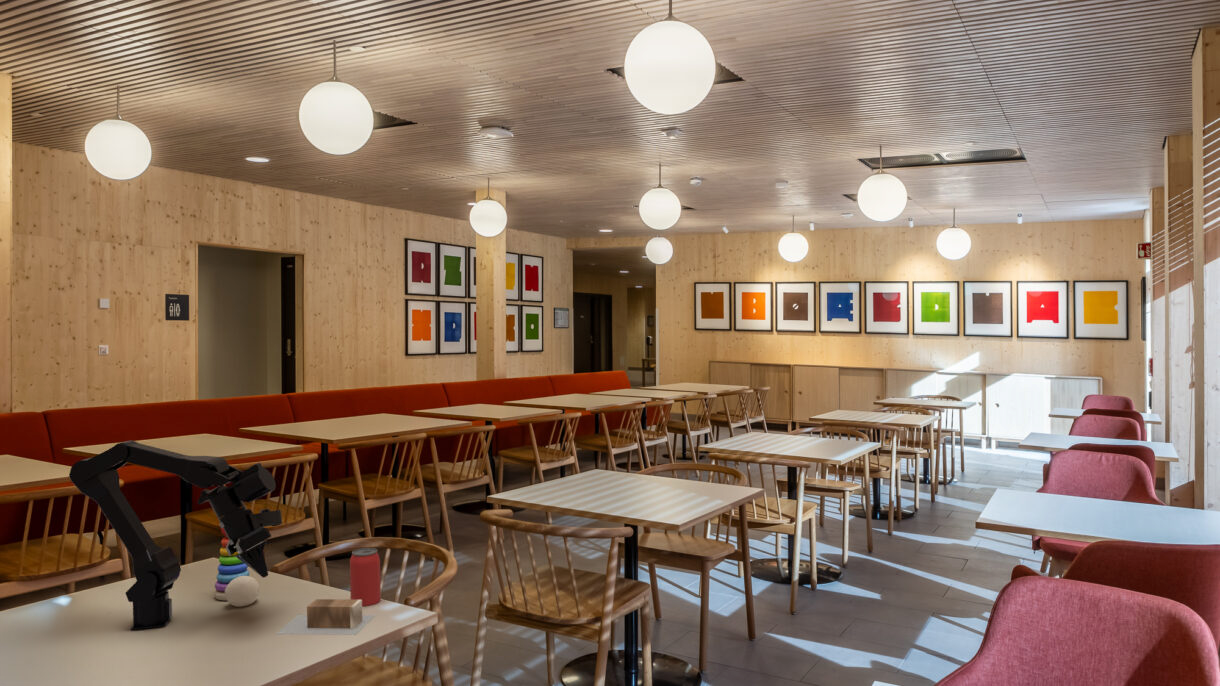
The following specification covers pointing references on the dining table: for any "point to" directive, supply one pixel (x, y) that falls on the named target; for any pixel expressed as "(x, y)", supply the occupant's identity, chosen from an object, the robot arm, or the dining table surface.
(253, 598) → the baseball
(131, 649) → the dining table surface
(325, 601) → the walnut block
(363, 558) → the beer can
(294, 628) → the rubber mat
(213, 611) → the dining table surface
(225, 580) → the stacking toy
